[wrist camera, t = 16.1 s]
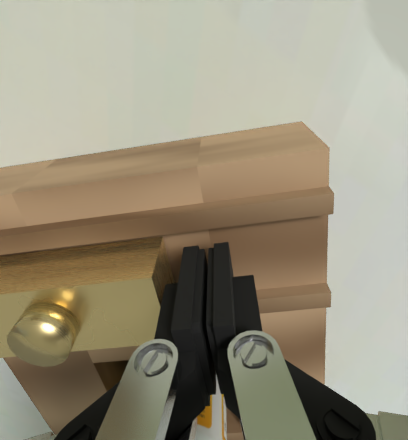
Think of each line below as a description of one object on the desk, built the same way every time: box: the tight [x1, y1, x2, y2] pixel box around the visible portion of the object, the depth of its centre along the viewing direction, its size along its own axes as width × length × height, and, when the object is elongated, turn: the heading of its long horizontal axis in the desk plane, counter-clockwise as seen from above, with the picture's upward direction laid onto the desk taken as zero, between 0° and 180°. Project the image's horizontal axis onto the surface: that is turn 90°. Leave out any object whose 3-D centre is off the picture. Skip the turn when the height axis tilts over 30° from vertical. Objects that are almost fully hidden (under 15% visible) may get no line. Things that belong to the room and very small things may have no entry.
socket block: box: [0, 122, 334, 440], centre depth 17 cm, size 20×16×7 cm
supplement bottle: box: [195, 375, 227, 440], centre depth 17 cm, size 5×5×10 cm
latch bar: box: [0, 237, 175, 367], centre depth 12 cm, size 3×8×4 cm, turn 99°
